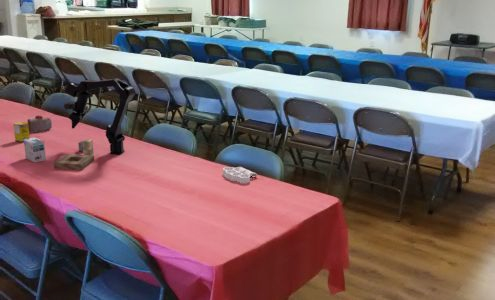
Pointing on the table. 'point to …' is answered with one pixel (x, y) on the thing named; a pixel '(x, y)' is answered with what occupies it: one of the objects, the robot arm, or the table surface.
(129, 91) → the robot arm
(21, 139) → the supplement box
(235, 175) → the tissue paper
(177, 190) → the table surface
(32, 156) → the light bulb box
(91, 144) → the maple pin
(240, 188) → the table surface
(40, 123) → the grey box with knob
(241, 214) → the table surface
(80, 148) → the metal stub
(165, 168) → the table surface
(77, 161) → the walnut sleeve block
